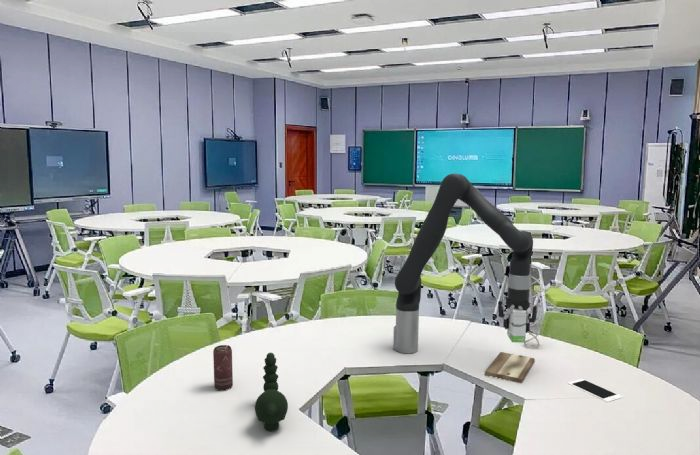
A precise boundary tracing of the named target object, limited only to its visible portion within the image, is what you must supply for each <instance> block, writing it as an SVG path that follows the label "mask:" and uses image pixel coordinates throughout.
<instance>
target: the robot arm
mask: <svg viewBox="0 0 700 455" xmlns="http://www.w3.org/2000/svg"><path fill="white" fill-rule="evenodd" d="M458 200H460V201H461V202H463V203H464V204H466V205H467V206H468V207H469V208H470V209H471V210H473V211H474V212H475V214H476V215H477V216H478V218H480V220H481V221H482V222H483V223H484V224H485V225H486V226H487V227H488V228H490V229H491V230H492V231H493V232H494V233H495V234H497V235H498V236H499V238H500V239H501V240H502V241H503V242H504V244H506V246H507V247H508V248H509V249H511V250H512V257H511V259H510V262H509V270H508V271H509V274H508V278H507V279H508V280H507V281H508V282H507V299H506V300H503V299H500V300H499V301H498V302H497V306H498V308H497V309H498V318H502V319H503V322H502V323H503V324H502V325H503V328H504V330H507V329H508V321H509V318H508V317H509V315H510V313H511V309H519V310H525V311H526V312H527V314H526V334H527V333H528V331H529V332H530V330H531V327H530V325H531V323H534V322H536V321H537V320H536V319H537V315H538V312H537V309H538V310H539V308H538V307H539V305H538V306H537V304H533V305H532V303H531V304H530V300H529V298H530V289H531V288H530V287H531V285H530V284H531V276H530V275H531V274H530V273H531V260H532V254H533V250H534V249H533V248H534V239H533V238H534V237H533V236H532V234H531V233H530V232H528V231H526V230H519V229H518V228H517V227H516V226H515V225H514V223H513V220H511V219H510V218H509V217H508V216H507V215H506V214H504V213H503V212H502V211H501V210H500V209H498V208H497V207H496V206H495V205H494V204H492V203H491V201H489V200H488V199H486V198H485V197H484V196H483V195H482V194H481V193H480V192H479V191H478V190H477V189H476V187H475V186H474V185H473V184H472V182H470V180H468V178H467V177H466V176H465V175H464V174H460V173H449V174H447V175H446V176H445V177H444V178H443V179H442V180H441V182H440V185H439V188H438V191H437V192H436V196H435V199H434V201H433V204H432V205H431V208H430V210H428V214H427V215H426V216H425V219H424V221H423V223H422V225H421V227H419V228H420V229H419V230H418V232H417V235H416V237H415V240H414V242H413V244H412V247H411V249H410V252H409V254H408V256H407V258H406V260H405V262H404V264H403V265H402V267H401V269H400V270H399V272H398V273H397V274H396V276H395V278H394V286H395V289H396V291H398V295H397V298H396V303H395V326H393V340H392V342H393V343H392V344H393V345H392V346H393V347H392V348H393V349H392V350H395V352H396V351H397V352H399V353H401V354H414V353H416V352H418V351H419V329H420V328H419V323H420V303H421V299H422V298H421V297H422V296H421V295H422V276H421V275H422V273H423V270H424V268H425V266H426V265H427V263H428V262H429V261H430V260H431V258H432V257H433V255H434V253H435V252H436V251H437V249H438V248H439V246H440V244H441V242H442V240H443V238H444V235H445V233H446V232H447V228H448V223H449V218H450V214H451V211H452V209H453V208H454V206H455V204H456V203H457V202H458ZM505 305H506V306H507V308H508V309H509V310H507V311H506V313H504V307H505ZM529 308H530V311H532V312H531V318H530V315H529V314H528V309H529Z"/></svg>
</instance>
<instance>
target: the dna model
mask: <svg viewBox="0 0 700 455" xmlns="http://www.w3.org/2000/svg"><path fill="white" fill-rule="evenodd" d="M530 278H532V279H534V280H535V281H533V282H530V286H532V285H534V284H536V283H538V284H539V285H540V291H539V290H536V289H531V288H530V290H529V292H531V294H534V295H532V296H531V297H529V301H530V300H532V299H534V298H536V297H537V298H538V299H539V301H540V302H539V305H537V304H536V305H537V306H538V309H537V314H538V315H539V317H538V319H537V318H536V320H535V322H533V323H532V324H530V328H532V327H533V326H537V328H538V332H537V333H534V332H531V331H530V330H529V331H528V332H527V333H528V334H529V335H530V336H532V337H531V338H530V339H527V340H525V343H523V344H524V345H525V346H526V345H527V343H528V342H531V341H532V340H534V339H535V340H536V342H537V346H536V349H539V347H540V341H539V339H538V336H539V335H540V333H541V328H540V325H539V324H538V323H539V322H540V321H541V318H542V314H541V312H540V311H539V309H540V308H541V306H542V304H543V302H542V298H541V297H540V296H539V295H540V294H541V293H542V292H543V290H544V289H543V288H544V287H543V284H542V283H541V282H540V280H542V277H539V278H538V279H537V278H536V277H534V276H532V275H531V274H530ZM534 291H535V292H534ZM537 292H538V293H537ZM529 303H530V302H529ZM530 304H531V305H534V304H533V303H530ZM527 312H528V311H527ZM529 314H532V311H531V310H530V311H529V312H528V315H529ZM529 317H530V316H529ZM530 318H532V316H531V317H530Z"/></svg>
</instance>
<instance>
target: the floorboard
mask: <svg viewBox="0 0 700 455" xmlns="http://www.w3.org/2000/svg"><path fill="white" fill-rule="evenodd" d="M535 360H536V359H535V358H534V357H531V356H527V355H521V354H516V353H509V352H508V353H507V352H502V351H500V352H499V353H498V354H497V356H495V358H494V359H493V360H492V362H491V363H490V364H489V365H488V367H487V368H486V369H485V370H484V376H486V377H490V376H492V377H491V378H495V377H497V378H496V379H499V378H501V379H500V380H504V379H505V381H509V380H510V381H509V382H514V383H518V384H522V383H523V382H524V381H525V379H526V377H527V375H528V373H529V371H530V370H531V369H532V367H533V366H534V364H535Z"/></svg>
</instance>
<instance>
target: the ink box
mask: <svg viewBox="0 0 700 455" xmlns="http://www.w3.org/2000/svg"><path fill="white" fill-rule="evenodd" d="M508 310H509V308H508ZM508 310H507V311H508ZM527 312H528V311H527ZM527 312H526V311H525V310H519V309H511V313H510V315H509V317H508V318H509V321H508V329H506V335H507V337H508V339H509V340H510V341H511V343H518V344H519V343H522V344H524V343H525V341H526V334H527V333H526V314H527Z"/></svg>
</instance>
